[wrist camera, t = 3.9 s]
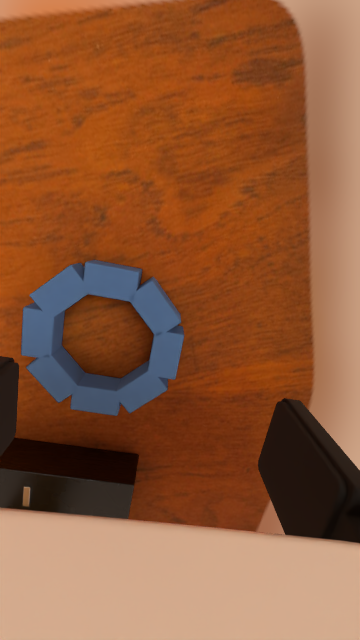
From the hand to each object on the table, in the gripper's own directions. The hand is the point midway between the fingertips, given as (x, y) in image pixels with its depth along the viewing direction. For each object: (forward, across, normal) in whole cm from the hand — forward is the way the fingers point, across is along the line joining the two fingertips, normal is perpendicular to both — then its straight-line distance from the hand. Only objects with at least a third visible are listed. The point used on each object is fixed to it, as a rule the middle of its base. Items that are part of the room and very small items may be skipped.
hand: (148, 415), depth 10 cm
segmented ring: (+7, +3, 0) cm, 8 cm away
